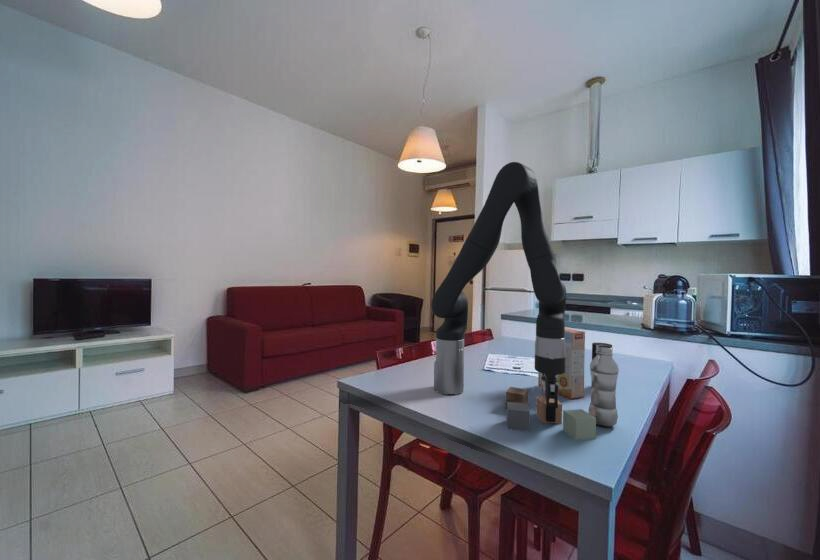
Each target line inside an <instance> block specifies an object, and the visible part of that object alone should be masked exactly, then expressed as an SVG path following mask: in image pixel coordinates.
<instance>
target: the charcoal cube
mask: <svg viewBox="0 0 820 560" xmlns="http://www.w3.org/2000/svg"><path fill="white" fill-rule="evenodd" d="M530 415H531V411H530V408H529V405H527V404H525V403H514V402H507V409H506V424H507V425H508V426H507V430H510V429H512V430H511V431H521V432H530V423H531V419H530V417H531V416H530Z"/></svg>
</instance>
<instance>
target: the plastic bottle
mask: <svg viewBox="0 0 820 560" xmlns="http://www.w3.org/2000/svg"><path fill="white" fill-rule="evenodd" d="M596 353H597V355H596V357H595V358H594V359H593V360H592V359H591V361H590V364H589V370H590V378H591V380H590V381H591V382H592V387H591V395H590V403H589V406H588V413H589V414H590V415H592V416H594V417H595V418H596V425H598V426H603V427H608V428H609V427H614V426H616V425H617V422H618V419H619V414H618V409H617V398H616V394H617V393H616V390H617V382H618V377H619V372H620V370H619V366H618V364H617V362H616V361H615V359H614V358H613V355H614V353H613V346H612V347H610V346H605V345H597V346H596Z"/></svg>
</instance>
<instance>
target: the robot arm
mask: <svg viewBox="0 0 820 560" xmlns="http://www.w3.org/2000/svg"><path fill="white" fill-rule="evenodd" d="M513 204H514V206H515V207H516V210H517V213H518V216H519V220H520V233H521V234H520V237H521V245H522V249H523V252H524V256H525V259H526V262H527V266H528V269H529V272H530V279H531V283H532V284H531V285H532V289H533V290H532V291H533V293H534V296H535V298H536V299H537V301H538V314H537V316H536V320H535V321H536V323H535V341H534V369H535V371H536V372H540V373H542V376H541V386H540V388H541V389H540V390H541V391H542V392H541V395H542V397H544V398H545V399H546V403H545V405H546V421H547V422H555V419H556V408H557V407H558V401H559V398H558V397H559V394H558V386H559V384H558V380H557V378H556V377H555V376H556V375H558V374H559V375H561V374H563V373H565V352H566V347H565V338H564V337H565V328H566V324H565V323H566V322H565V313H566V305H567V304H566V303H567V288H566V286H565V284H564V282H562V281H561V278H560V274H559V271H558V269H557V266H556V264H557V262H556V256H555V253H554V250H553V247H552V242H551V239H550V237H549V233H548V230H547V228H546V224H545V220H544V215H543V211H542V206H541V200H540V189H539V183H538V177H537V175H536V173H535V171H534V170H533V169H532V168H530V167H528V166H526V165H525V164H523V163H521V162H517V161H512V162H508V163H506V164H505V165H504V166H502V167H501V168H500V170H499V171H498V172H497V174H496V176H495V179H494V180H493V182H492V186H491V187H490V191H489V193H488V195H487V198H486V200H485V203H484V205H483V207H482V209H481V211H480V213H479V214H478V217H477V218H476V220H475V222H474V224H473V226H472V228H471V230H470V231H469V234H468V235H467V237H466V238H465V241H464V243H463V244H462V247H461V249H460V251H459V253H458V255H457V257H456V258H455V260H454V262H453V263H452V265H451V268H450V269H449V270H448V271H449V272H448V273H447V274H446V276H445V278H444V279H443V281H442V282H441V284H440V285H439V286H438V288H437V290H436V291H435V292H434V294H433V296H432V299H431V311H432V313H433V315H434V316H435V317H437V318H439V319H443V322H442V324H441V325H440V326H439V327H437V329H436V333H435V337H436V338H435V361H434V365H433V368H434V369H433V375H434V376H433V392H437V391H438V392H437V393H439V392H440V393H439V394H442V393H445V394H444V395H448V394H455V395H460V394H462V393H464V385H465V383H464V381H465V378H464V375H465V334H466V331H467V329H468V315H469V302H468V298H467V295H466V294H465V293H464V291H463V290H464V288H465V287H466V286H467V285H468V284H469V283H470V281H471V280H472V279H474V278H475V277H476V276H477V275H478V274H479V273H481V272H482V271H483V269H485V268H486V266H487V265H488V263H489V262H490V261H491V259H492V257H493V255H494V254H495V252H496V250H497V248H498V246H499V244H500V240H501V235H502V230H503V225H504V222H505V219H506V216H507V215H508V212H509V211H510V209H511V207H512V206H513ZM459 393H460V394H459ZM549 399H554V403H551V402H549Z"/></svg>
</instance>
